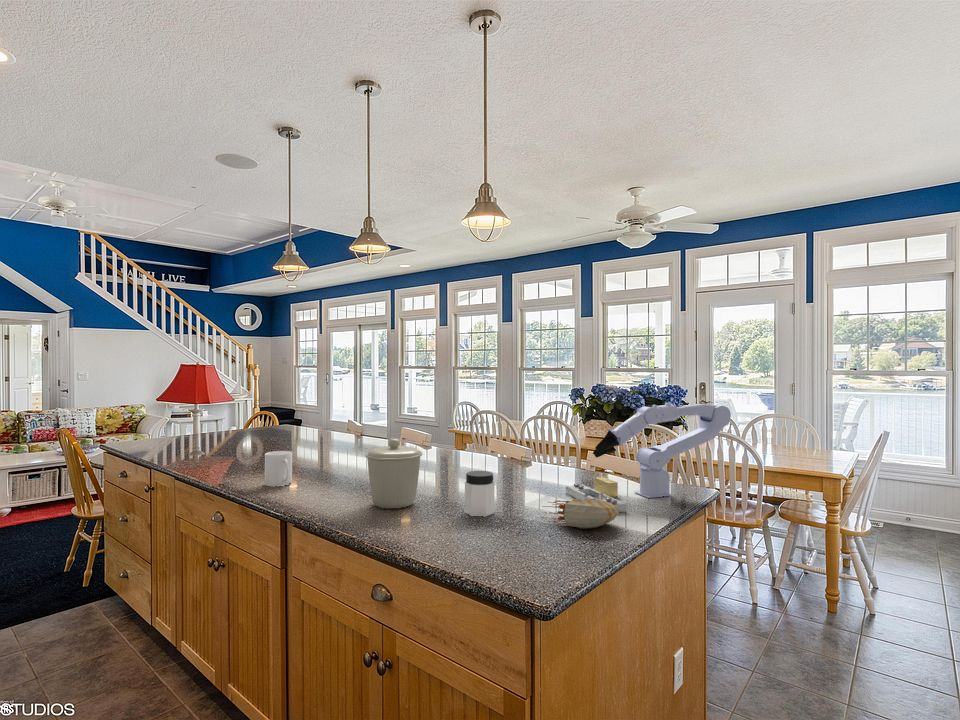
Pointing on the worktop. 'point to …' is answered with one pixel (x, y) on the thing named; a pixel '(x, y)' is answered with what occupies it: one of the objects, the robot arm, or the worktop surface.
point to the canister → (393, 474)
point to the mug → (278, 468)
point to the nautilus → (585, 513)
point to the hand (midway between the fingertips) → (595, 452)
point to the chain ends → (593, 495)
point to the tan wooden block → (606, 486)
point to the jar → (479, 493)
